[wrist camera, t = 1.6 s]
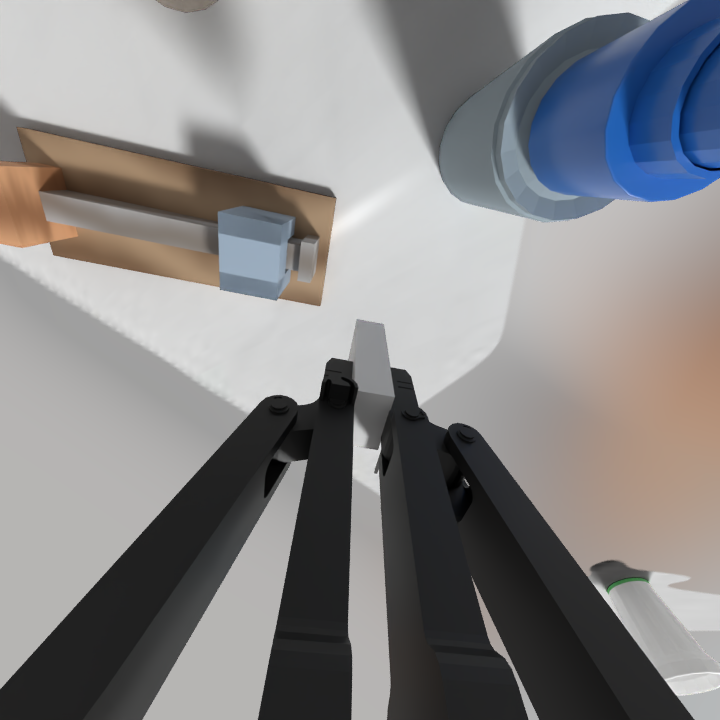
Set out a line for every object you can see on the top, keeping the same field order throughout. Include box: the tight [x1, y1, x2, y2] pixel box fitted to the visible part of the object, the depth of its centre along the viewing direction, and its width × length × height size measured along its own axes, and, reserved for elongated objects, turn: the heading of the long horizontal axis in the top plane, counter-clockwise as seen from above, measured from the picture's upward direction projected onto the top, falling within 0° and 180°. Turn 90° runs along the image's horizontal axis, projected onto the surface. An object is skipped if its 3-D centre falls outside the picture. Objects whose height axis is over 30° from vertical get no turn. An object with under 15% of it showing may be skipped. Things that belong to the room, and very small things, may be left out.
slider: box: [218, 206, 296, 300], centre depth 29 cm, size 6×5×6 cm
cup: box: [607, 578, 720, 696], centre depth 62 cm, size 12×12×15 cm
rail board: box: [0, 127, 336, 306], centre depth 29 cm, size 11×28×7 cm, turn 79°
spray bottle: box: [439, 0, 720, 222], centre depth 18 cm, size 9×9×25 cm
